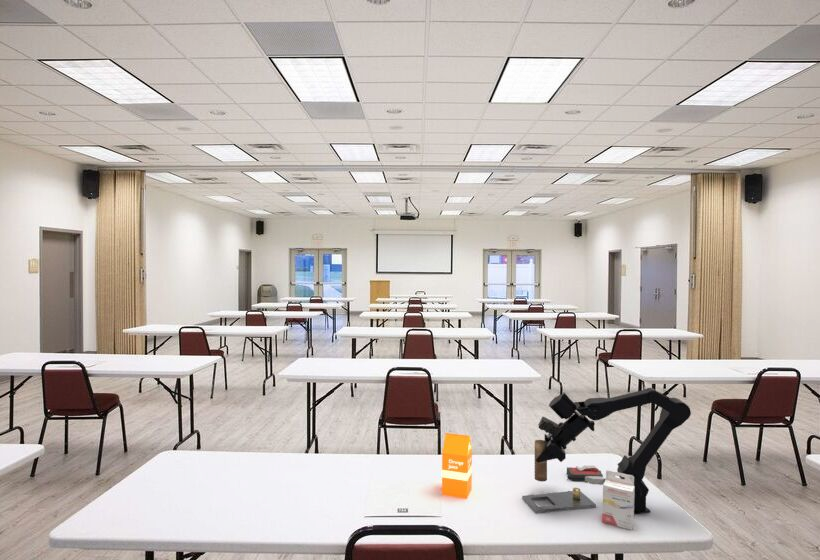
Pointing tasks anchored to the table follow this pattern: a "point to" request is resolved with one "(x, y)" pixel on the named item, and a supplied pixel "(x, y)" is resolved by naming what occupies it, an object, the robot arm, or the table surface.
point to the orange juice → (457, 466)
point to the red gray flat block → (585, 474)
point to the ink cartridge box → (618, 500)
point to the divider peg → (541, 466)
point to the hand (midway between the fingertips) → (536, 458)
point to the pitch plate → (560, 501)
